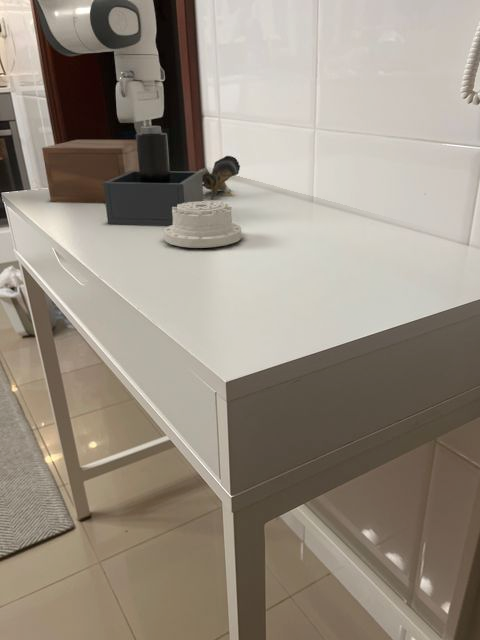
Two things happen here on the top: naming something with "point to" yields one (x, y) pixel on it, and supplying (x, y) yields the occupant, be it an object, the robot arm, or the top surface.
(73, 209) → the top surface
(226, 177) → the toy chipmunk
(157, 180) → the spray can
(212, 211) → the mechanical component
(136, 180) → the bin
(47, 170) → the cabinet
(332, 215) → the top surface
